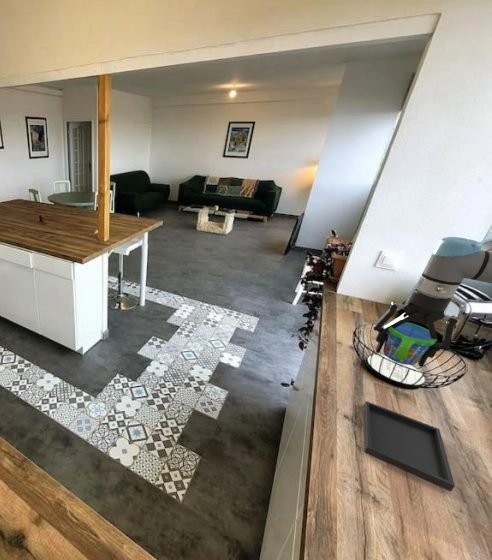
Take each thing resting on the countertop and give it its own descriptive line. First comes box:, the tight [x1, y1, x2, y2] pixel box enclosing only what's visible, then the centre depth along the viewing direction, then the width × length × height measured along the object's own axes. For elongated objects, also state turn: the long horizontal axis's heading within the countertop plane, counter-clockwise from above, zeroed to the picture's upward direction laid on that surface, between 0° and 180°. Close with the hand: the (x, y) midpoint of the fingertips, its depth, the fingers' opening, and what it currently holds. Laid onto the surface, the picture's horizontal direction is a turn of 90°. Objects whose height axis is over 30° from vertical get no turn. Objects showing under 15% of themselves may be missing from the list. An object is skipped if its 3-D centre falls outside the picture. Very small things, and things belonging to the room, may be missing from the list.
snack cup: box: [382, 322, 438, 366], centre depth 93 cm, size 16×10×10 cm
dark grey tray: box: [362, 400, 456, 492], centre depth 85 cm, size 17×20×2 cm
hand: (398, 357), depth 95 cm, fingers closed on snack cup, 9 cm apart
